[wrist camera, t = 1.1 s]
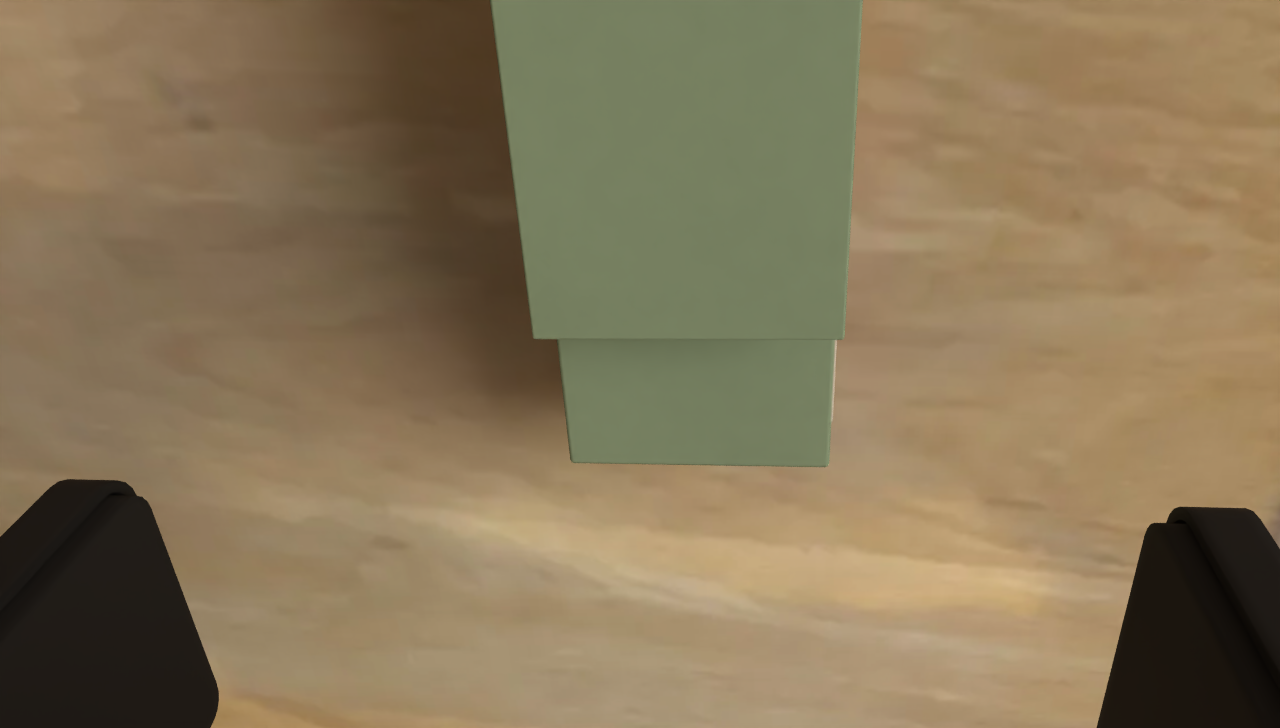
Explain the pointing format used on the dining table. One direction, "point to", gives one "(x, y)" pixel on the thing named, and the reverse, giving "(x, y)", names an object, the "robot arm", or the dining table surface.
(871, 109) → the dining table surface
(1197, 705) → the robot arm
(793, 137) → the green block on base
